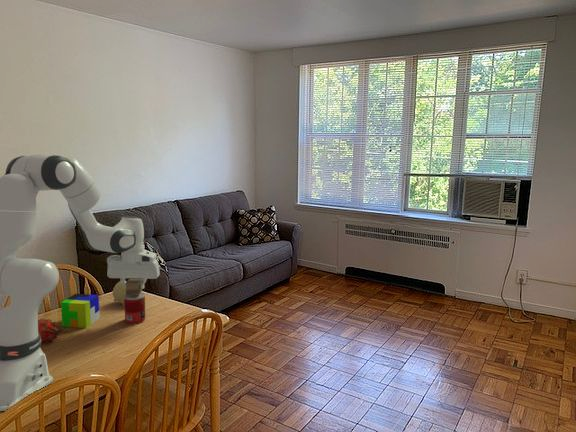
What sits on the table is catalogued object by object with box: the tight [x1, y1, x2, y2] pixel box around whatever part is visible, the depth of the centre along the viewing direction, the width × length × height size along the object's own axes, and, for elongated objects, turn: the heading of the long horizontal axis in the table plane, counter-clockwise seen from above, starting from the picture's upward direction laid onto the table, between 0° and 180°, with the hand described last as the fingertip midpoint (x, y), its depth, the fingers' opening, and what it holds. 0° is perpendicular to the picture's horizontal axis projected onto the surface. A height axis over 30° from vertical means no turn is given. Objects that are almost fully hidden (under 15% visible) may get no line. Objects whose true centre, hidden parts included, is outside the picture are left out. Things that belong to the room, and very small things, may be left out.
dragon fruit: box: [38, 317, 62, 344], centre depth 161 cm, size 8×8×12 cm
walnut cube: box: [126, 278, 143, 295], centre depth 178 cm, size 5×5×5 cm
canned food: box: [123, 292, 146, 325], centre depth 180 cm, size 8×8×11 cm
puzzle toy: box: [60, 293, 100, 329], centre depth 177 cm, size 10×10×10 cm
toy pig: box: [112, 280, 128, 307], centre depth 197 cm, size 10×12×11 cm
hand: (134, 288), depth 179 cm, fingers closed on walnut cube, 5 cm apart
